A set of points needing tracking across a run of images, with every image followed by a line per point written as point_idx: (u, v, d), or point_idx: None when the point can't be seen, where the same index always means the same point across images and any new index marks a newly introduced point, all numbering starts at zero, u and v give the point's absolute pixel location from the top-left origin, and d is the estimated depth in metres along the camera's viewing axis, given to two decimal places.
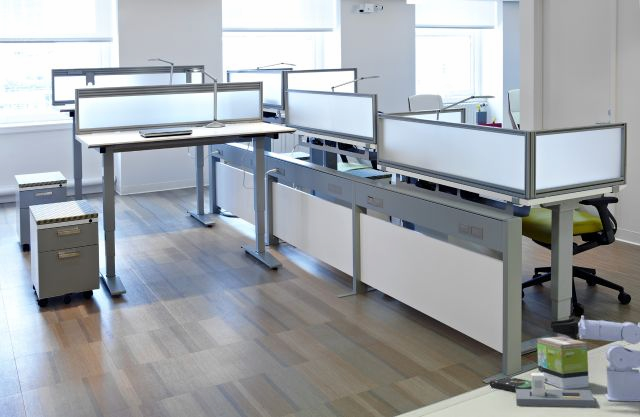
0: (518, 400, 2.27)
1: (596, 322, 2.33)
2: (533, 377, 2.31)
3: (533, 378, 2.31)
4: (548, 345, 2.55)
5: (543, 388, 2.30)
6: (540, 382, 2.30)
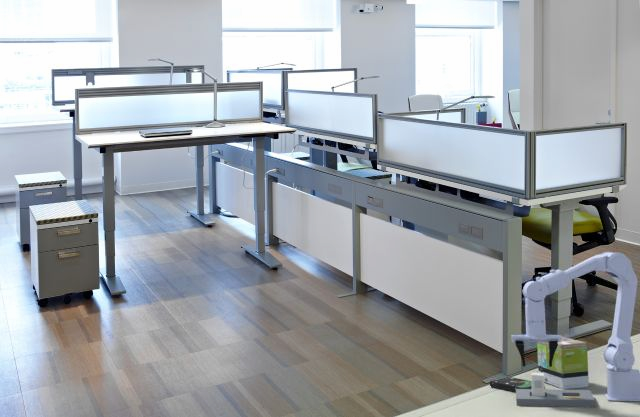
0: (518, 400, 2.27)
1: (540, 324, 2.31)
2: (533, 377, 2.31)
3: (533, 378, 2.31)
4: (548, 345, 2.55)
5: (543, 388, 2.30)
6: (540, 382, 2.30)
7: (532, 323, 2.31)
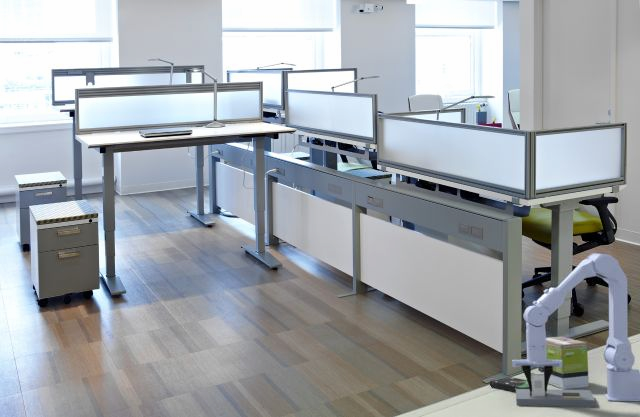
0: (518, 400, 2.27)
1: (541, 349, 2.30)
2: (533, 377, 2.31)
3: (533, 378, 2.31)
4: (548, 345, 2.55)
5: (543, 388, 2.30)
6: (540, 382, 2.30)
7: (533, 348, 2.31)
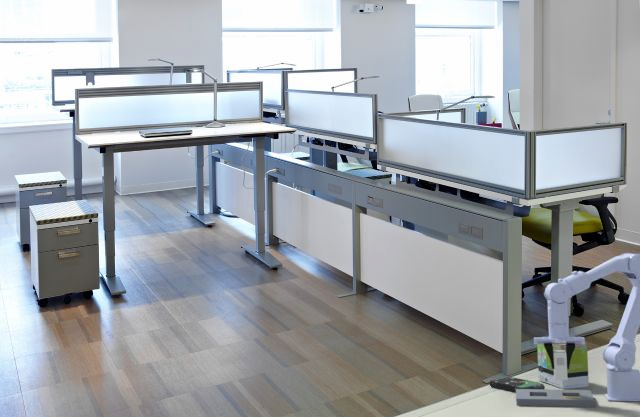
0: (518, 400, 2.27)
1: (563, 326, 2.29)
2: (555, 354, 2.30)
3: (555, 355, 2.30)
4: None
5: (565, 365, 2.29)
6: (562, 359, 2.29)
7: (555, 325, 2.29)
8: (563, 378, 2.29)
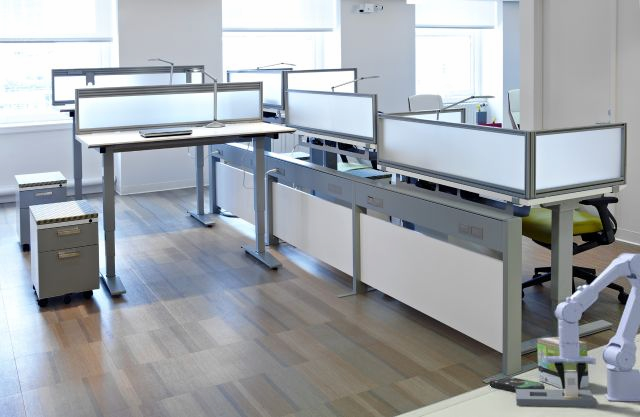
0: (518, 400, 2.27)
1: (574, 346, 2.28)
2: (566, 374, 2.29)
3: (566, 375, 2.29)
4: (548, 345, 2.55)
5: (576, 385, 2.28)
6: (573, 379, 2.28)
7: (566, 345, 2.29)
8: None
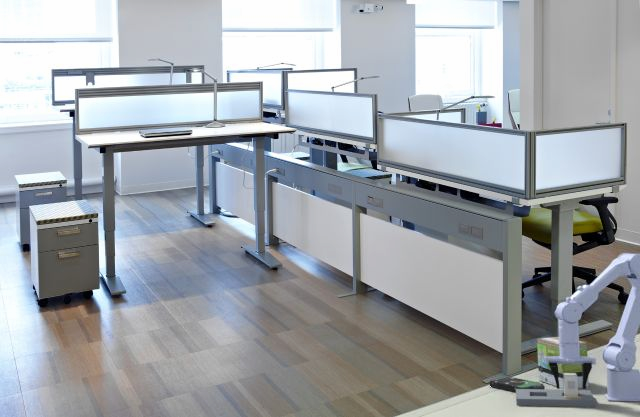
0: (518, 400, 2.27)
1: (574, 346, 2.28)
2: (566, 377, 2.29)
3: (566, 378, 2.29)
4: (548, 345, 2.55)
5: (576, 389, 2.28)
6: (573, 382, 2.28)
7: (566, 345, 2.29)
8: None
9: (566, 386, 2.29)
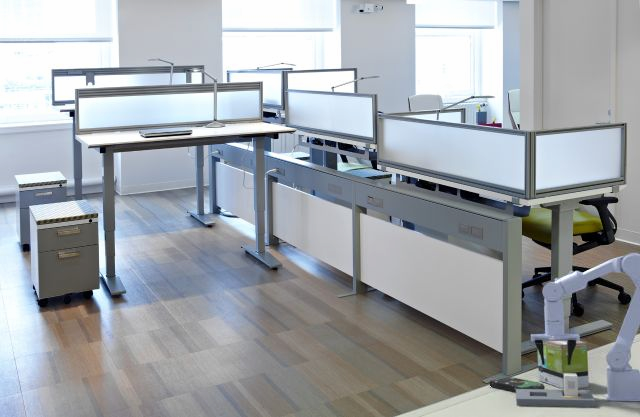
0: (518, 400, 2.27)
1: (559, 324, 2.38)
2: (566, 377, 2.29)
3: (566, 378, 2.29)
4: (548, 345, 2.55)
5: (576, 389, 2.28)
6: (573, 382, 2.28)
7: (551, 323, 2.38)
8: None
9: (566, 386, 2.29)
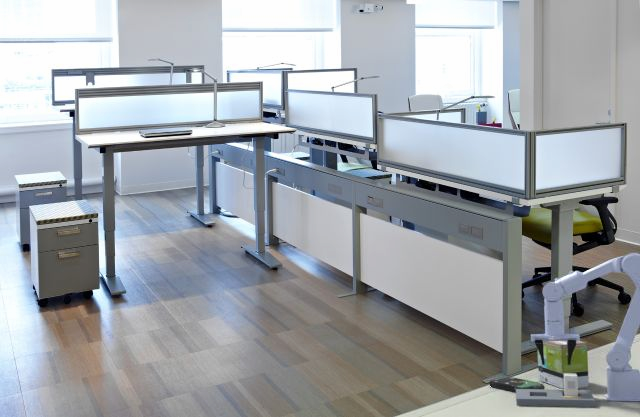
0: (518, 400, 2.27)
1: (559, 324, 2.38)
2: (566, 377, 2.29)
3: (566, 378, 2.29)
4: (548, 345, 2.55)
5: (576, 389, 2.28)
6: (573, 382, 2.28)
7: (551, 323, 2.38)
8: None
9: (566, 386, 2.29)
